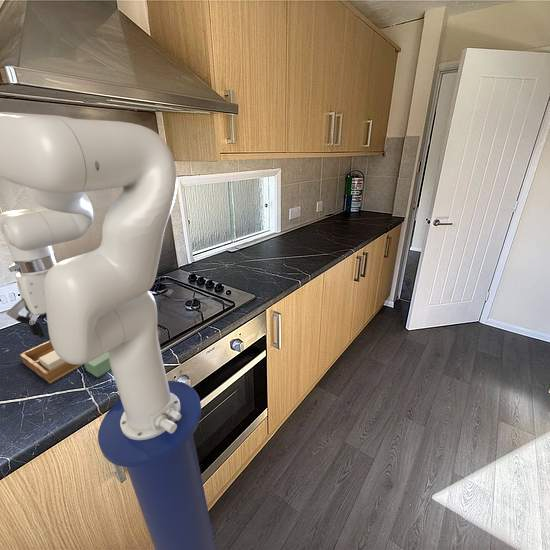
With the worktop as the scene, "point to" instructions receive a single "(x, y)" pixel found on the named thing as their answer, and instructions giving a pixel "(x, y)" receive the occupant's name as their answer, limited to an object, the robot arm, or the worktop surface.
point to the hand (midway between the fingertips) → (61, 326)
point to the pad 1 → (51, 361)
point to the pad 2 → (99, 365)
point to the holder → (34, 363)
